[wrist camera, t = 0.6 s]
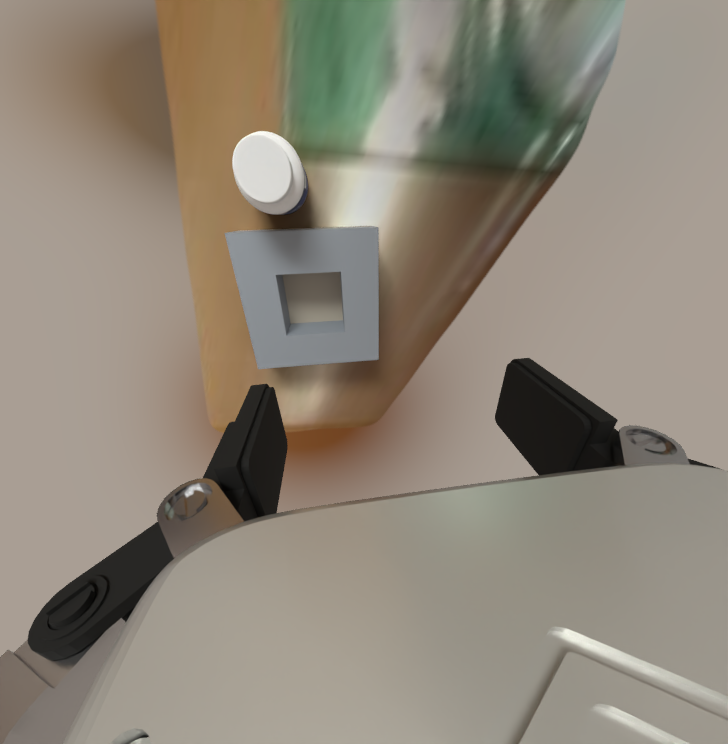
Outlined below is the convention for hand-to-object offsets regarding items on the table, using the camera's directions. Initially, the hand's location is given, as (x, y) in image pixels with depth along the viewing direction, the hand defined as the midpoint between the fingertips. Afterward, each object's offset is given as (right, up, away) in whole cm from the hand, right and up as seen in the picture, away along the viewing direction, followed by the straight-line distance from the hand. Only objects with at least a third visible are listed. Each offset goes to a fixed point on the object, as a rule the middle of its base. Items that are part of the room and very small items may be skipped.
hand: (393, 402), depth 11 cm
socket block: (-7, +11, +22) cm, 26 cm away
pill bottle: (-10, +20, +17) cm, 28 cm away
